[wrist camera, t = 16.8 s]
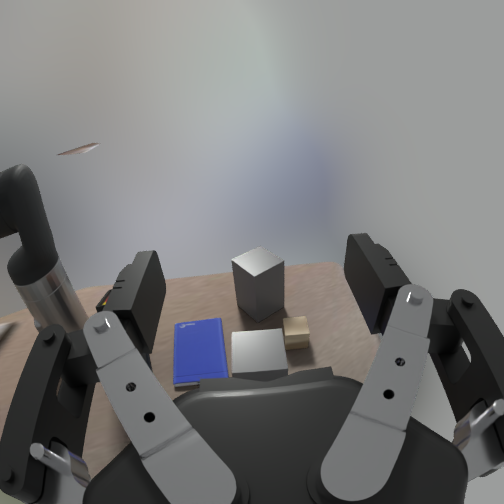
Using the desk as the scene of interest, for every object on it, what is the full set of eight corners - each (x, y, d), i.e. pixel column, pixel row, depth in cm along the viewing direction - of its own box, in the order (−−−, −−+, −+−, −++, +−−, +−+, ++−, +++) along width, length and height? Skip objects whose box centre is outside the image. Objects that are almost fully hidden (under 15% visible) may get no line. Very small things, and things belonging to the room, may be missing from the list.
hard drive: (174, 323, 48) (172, 383, 38) (220, 317, 49) (228, 377, 39) (176, 329, 49) (175, 388, 39) (222, 323, 50) (229, 382, 40)
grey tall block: (257, 322, 49) (254, 276, 43) (237, 304, 53) (231, 259, 47) (284, 306, 52) (284, 260, 46) (262, 290, 56) (260, 245, 50)
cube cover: (285, 408, 35) (287, 368, 29) (240, 411, 35) (231, 373, 29) (281, 372, 40) (281, 328, 34) (239, 376, 40) (231, 332, 34)
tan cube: (308, 348, 43) (310, 333, 41) (285, 350, 43) (285, 335, 42) (305, 331, 46) (306, 316, 44) (282, 333, 46) (282, 318, 45)
